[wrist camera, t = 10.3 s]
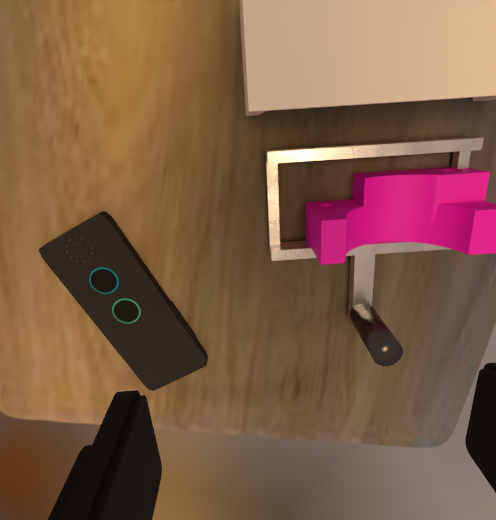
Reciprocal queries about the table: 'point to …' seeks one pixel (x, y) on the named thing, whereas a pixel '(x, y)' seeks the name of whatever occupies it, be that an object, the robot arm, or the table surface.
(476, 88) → the tunnel
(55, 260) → the smart home device
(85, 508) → the robot arm
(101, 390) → the table surface
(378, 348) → the slider
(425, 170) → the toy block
